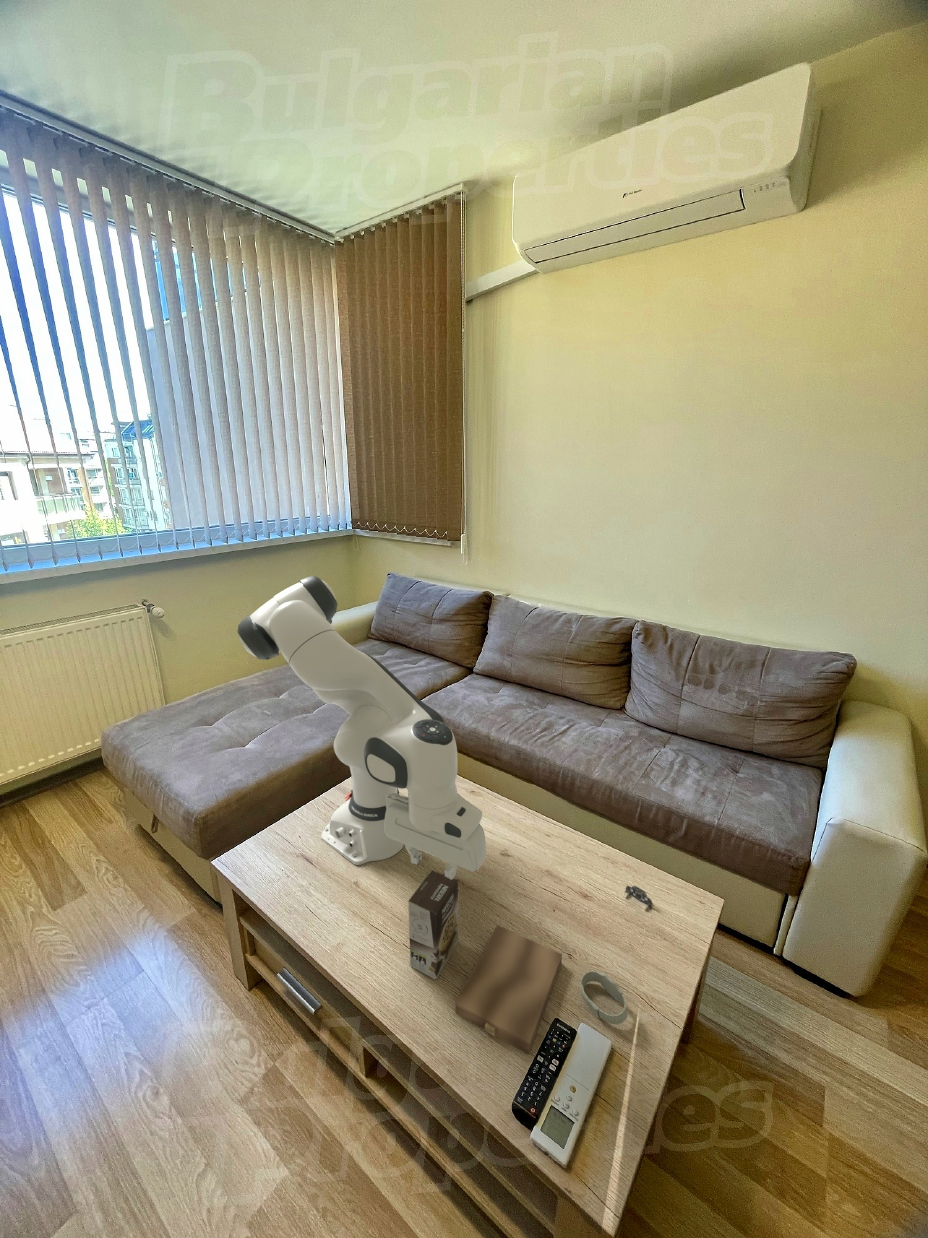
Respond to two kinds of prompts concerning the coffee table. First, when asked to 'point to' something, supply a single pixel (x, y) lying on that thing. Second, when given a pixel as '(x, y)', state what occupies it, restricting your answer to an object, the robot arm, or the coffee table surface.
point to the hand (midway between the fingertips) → (433, 869)
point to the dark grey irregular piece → (639, 895)
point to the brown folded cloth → (510, 988)
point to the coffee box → (433, 923)
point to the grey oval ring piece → (611, 989)
